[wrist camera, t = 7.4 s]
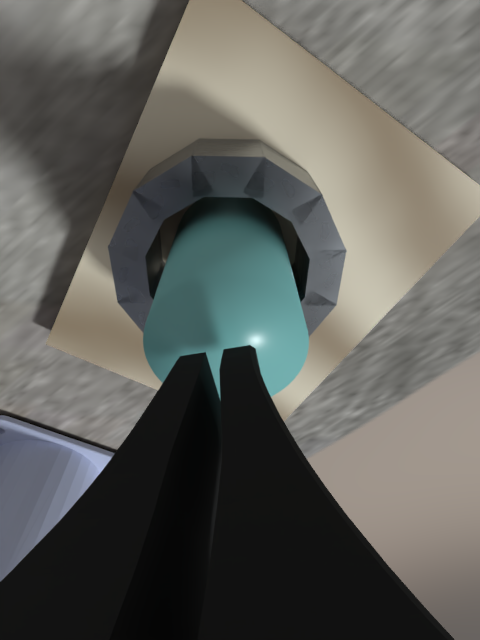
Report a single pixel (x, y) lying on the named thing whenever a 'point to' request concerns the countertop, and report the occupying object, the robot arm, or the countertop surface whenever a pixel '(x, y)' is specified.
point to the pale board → (328, 174)
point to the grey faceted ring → (227, 181)
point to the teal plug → (228, 293)
